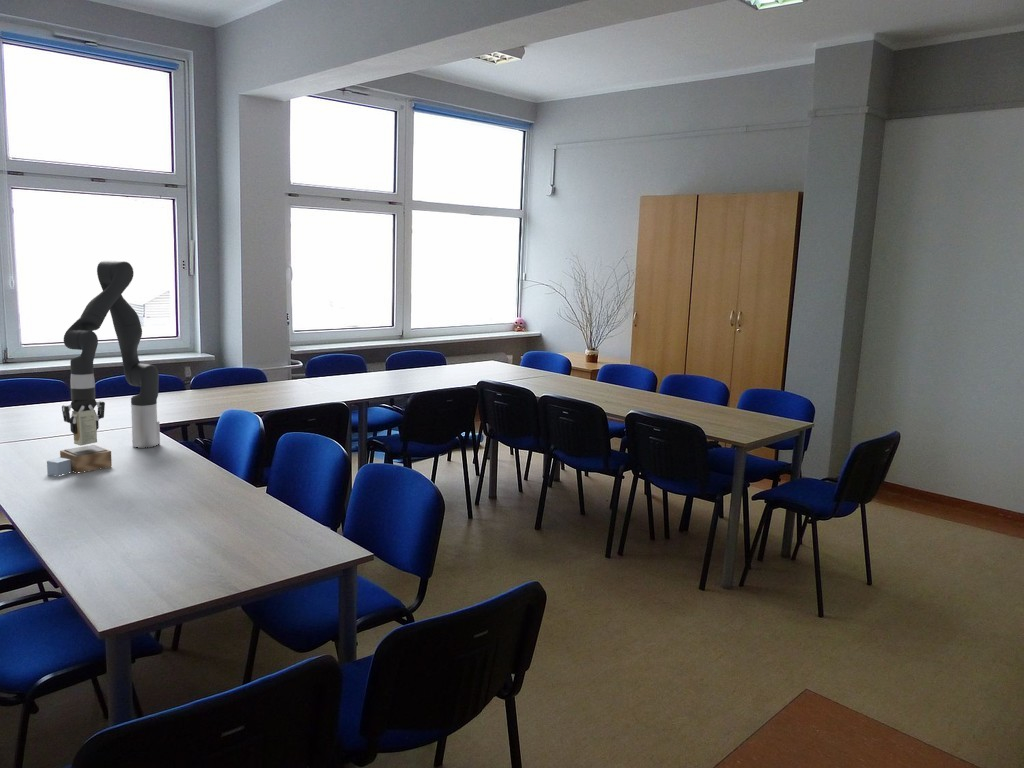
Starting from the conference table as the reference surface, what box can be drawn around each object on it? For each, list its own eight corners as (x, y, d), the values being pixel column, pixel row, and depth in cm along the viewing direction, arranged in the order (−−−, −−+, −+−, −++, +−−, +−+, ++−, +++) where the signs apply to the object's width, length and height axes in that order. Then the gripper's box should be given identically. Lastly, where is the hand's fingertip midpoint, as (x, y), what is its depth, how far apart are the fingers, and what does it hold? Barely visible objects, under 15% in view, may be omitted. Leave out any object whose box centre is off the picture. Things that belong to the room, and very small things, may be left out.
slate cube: (60, 471, 265) (59, 457, 264) (71, 473, 264) (70, 459, 263) (47, 474, 261) (46, 460, 260) (58, 476, 259) (57, 462, 258)
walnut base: (95, 460, 280) (94, 444, 278) (111, 467, 273) (111, 449, 272) (60, 467, 270) (59, 449, 269) (77, 473, 263) (76, 455, 262)
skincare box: (90, 440, 274) (89, 407, 272) (97, 442, 272) (96, 409, 270) (72, 444, 268) (71, 410, 266) (79, 446, 266) (78, 412, 264)
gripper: (98, 382, 275) (100, 427, 277) (56, 386, 263) (58, 433, 266) (108, 385, 270) (110, 430, 273) (66, 389, 259) (68, 437, 261)
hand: (84, 431), depth 269 cm, fingers closed on skincare box, 6 cm apart
